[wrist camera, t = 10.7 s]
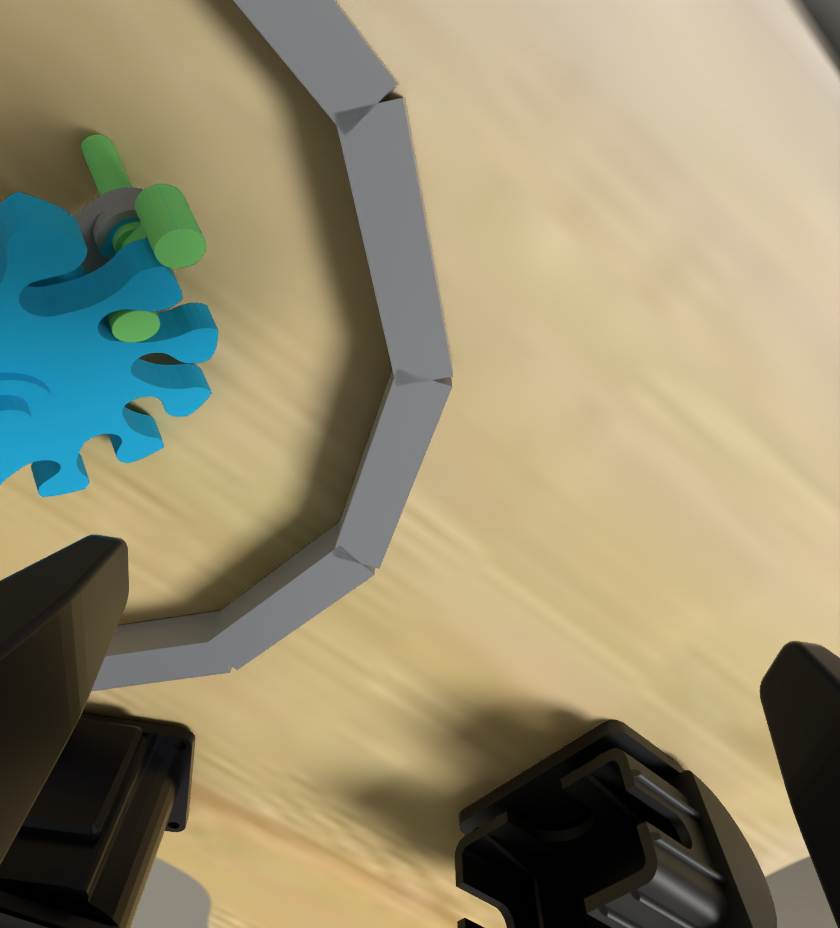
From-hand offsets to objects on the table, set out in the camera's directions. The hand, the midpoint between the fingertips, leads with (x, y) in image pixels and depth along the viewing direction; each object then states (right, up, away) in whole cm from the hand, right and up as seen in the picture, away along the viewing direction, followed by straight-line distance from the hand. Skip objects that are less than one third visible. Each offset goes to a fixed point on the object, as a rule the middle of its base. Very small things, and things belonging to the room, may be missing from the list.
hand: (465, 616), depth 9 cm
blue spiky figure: (-10, +6, +9) cm, 15 cm away
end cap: (+7, -13, +20) cm, 24 cm away
